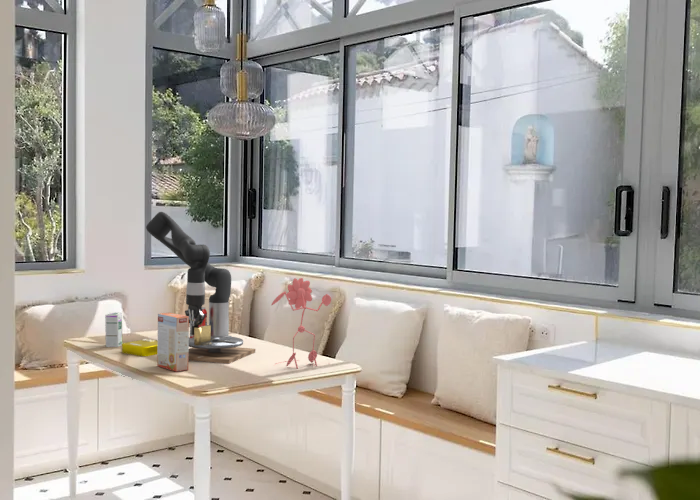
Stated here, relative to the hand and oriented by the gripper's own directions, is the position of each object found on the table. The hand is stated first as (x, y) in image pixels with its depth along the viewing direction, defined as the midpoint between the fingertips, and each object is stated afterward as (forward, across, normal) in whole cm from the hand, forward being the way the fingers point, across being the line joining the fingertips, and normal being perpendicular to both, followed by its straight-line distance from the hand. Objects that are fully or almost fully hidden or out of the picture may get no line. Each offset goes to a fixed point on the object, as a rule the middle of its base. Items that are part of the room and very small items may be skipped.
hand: (194, 334), depth 318 cm
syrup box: (+11, +43, +15) cm, 47 cm away
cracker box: (+9, -13, +17) cm, 23 cm away
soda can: (+11, +36, -24) cm, 44 cm away
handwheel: (+5, -1, -9) cm, 10 cm away
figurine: (+8, -36, -26) cm, 45 cm away
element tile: (+11, +22, +10) cm, 27 cm away
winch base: (+10, -1, -9) cm, 13 cm away
